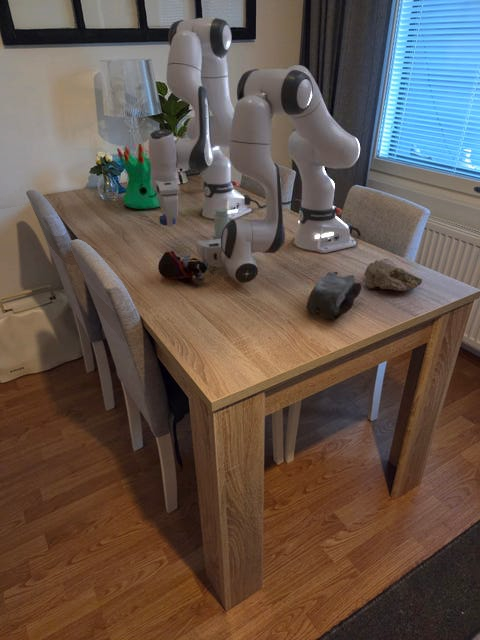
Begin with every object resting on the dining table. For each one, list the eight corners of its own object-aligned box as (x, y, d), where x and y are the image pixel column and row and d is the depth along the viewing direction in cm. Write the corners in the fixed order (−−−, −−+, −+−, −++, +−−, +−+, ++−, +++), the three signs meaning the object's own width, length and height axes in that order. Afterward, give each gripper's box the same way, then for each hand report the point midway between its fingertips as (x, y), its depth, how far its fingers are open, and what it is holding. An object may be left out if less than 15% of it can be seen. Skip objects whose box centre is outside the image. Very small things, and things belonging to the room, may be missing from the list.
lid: (162, 226, 152) (161, 220, 151) (157, 221, 157) (157, 215, 155) (178, 224, 154) (177, 218, 153) (173, 219, 159) (172, 213, 158)
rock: (342, 329, 114) (346, 302, 110) (301, 318, 119) (303, 292, 115) (361, 299, 128) (365, 274, 124) (324, 290, 132) (326, 266, 128)
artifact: (382, 302, 128) (424, 295, 132) (389, 280, 123) (432, 273, 128) (348, 271, 141) (387, 266, 146) (354, 250, 137) (393, 246, 142)
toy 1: (131, 213, 192) (124, 153, 179) (118, 201, 207) (109, 145, 194) (175, 206, 201) (171, 148, 187) (159, 195, 215) (154, 140, 202)
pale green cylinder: (225, 250, 158) (224, 206, 150) (231, 255, 155) (231, 210, 146) (213, 252, 157) (211, 208, 148) (219, 258, 153) (218, 212, 144)
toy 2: (200, 245, 129) (156, 241, 134) (191, 274, 126) (147, 269, 132) (215, 264, 140) (174, 259, 145) (207, 291, 137) (165, 286, 142)
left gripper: (151, 176, 156) (154, 214, 163) (160, 191, 139) (163, 233, 146) (168, 175, 158) (171, 213, 165) (180, 190, 141) (182, 231, 148)
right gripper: (263, 240, 143) (250, 226, 154) (201, 247, 138) (192, 232, 149) (262, 258, 146) (249, 243, 158) (201, 265, 141) (193, 249, 153)
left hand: (168, 223), depth 155 cm, fingers closed on lid, 5 cm apart
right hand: (221, 237), depth 153 cm, fingers closed on pale green cylinder, 5 cm apart
